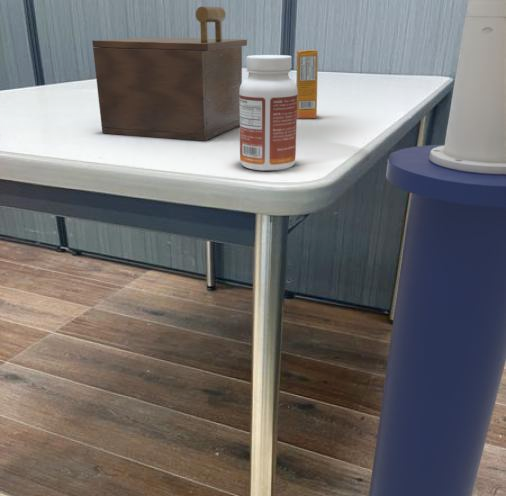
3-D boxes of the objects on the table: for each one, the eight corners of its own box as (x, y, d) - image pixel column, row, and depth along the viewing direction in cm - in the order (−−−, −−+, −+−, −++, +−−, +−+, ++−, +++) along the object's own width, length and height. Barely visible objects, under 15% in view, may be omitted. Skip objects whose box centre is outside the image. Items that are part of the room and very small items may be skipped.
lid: (247, 45, 85) (247, 7, 82) (207, 50, 73) (206, 6, 70) (145, 43, 89) (143, 6, 87) (92, 47, 77) (88, 5, 75)
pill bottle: (293, 159, 68) (298, 54, 63) (296, 172, 63) (301, 58, 58) (240, 159, 69) (240, 53, 63) (238, 171, 63) (238, 57, 58)
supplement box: (293, 115, 98) (296, 49, 94) (314, 115, 99) (317, 49, 94) (295, 118, 96) (298, 50, 91) (316, 118, 96) (320, 50, 91)
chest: (242, 124, 90) (241, 46, 85) (204, 141, 78) (201, 50, 73) (150, 118, 95) (145, 43, 89) (102, 133, 82) (92, 47, 77)
